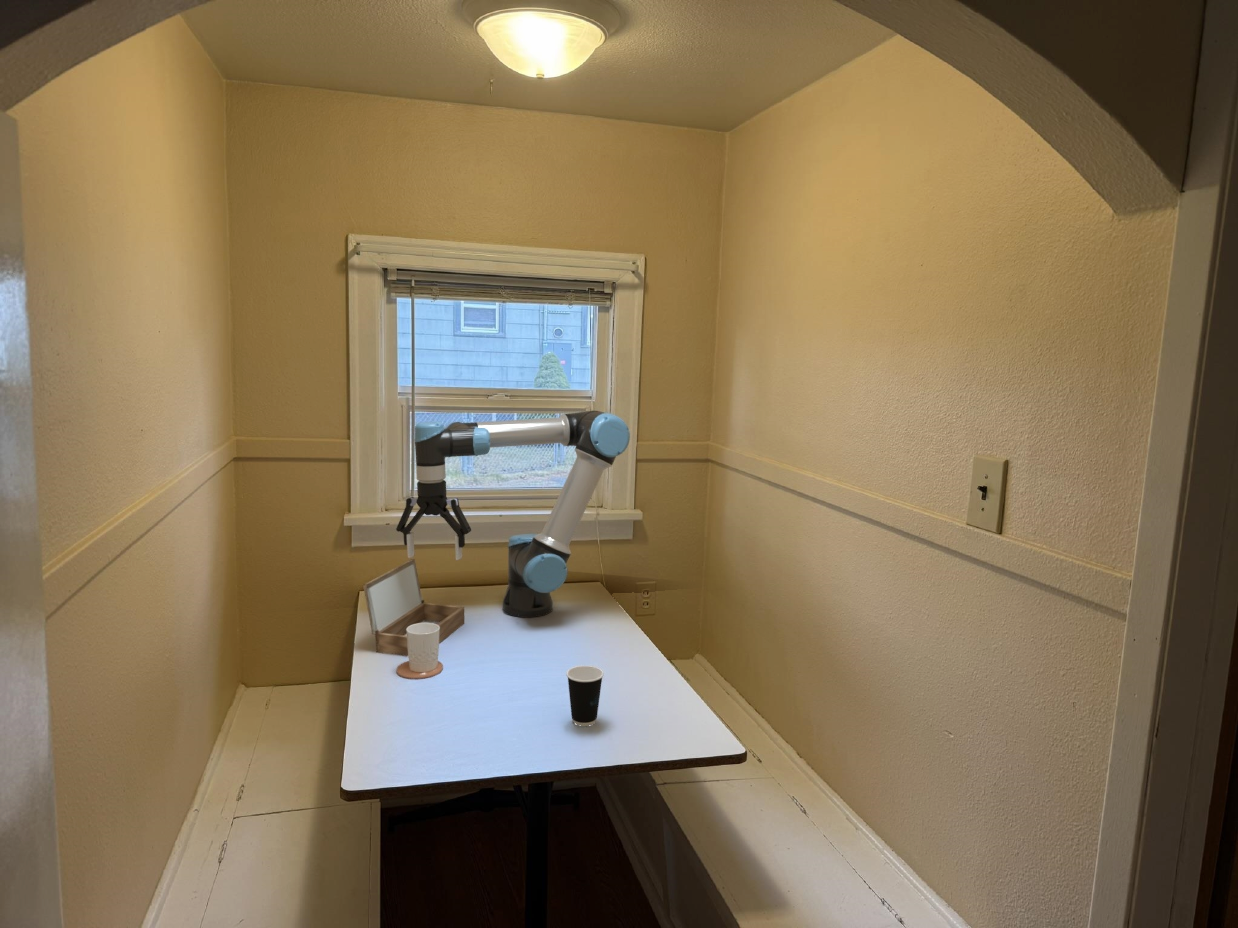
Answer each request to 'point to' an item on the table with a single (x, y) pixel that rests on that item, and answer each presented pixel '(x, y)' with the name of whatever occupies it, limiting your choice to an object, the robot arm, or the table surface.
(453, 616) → the cold frame
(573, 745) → the table surface
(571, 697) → the dixie cup
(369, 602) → the lid
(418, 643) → the white cup
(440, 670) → the saucer
